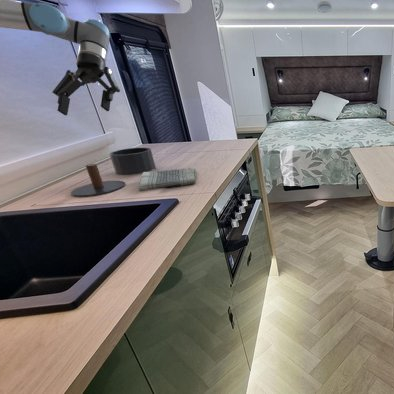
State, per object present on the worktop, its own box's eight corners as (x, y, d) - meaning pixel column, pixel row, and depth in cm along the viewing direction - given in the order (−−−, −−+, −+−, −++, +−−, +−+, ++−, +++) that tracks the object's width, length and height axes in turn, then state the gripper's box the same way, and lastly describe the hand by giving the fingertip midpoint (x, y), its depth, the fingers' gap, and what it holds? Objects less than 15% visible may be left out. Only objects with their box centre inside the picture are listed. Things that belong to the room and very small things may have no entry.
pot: (108, 176, 114) (101, 155, 111) (128, 167, 127) (122, 148, 123) (145, 175, 116) (139, 154, 113) (161, 165, 128) (156, 146, 125)
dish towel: (197, 184, 105) (195, 176, 104) (138, 193, 97) (135, 184, 96) (196, 171, 120) (194, 163, 119) (145, 177, 113) (143, 169, 111)
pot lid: (60, 199, 93) (48, 172, 89) (91, 184, 106) (82, 160, 102) (109, 197, 94) (100, 170, 91) (134, 182, 108) (127, 158, 104)
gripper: (135, 64, 107) (130, 113, 101) (64, 70, 106) (55, 120, 100) (120, 48, 100) (114, 100, 94) (44, 54, 99) (32, 107, 92)
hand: (83, 110), depth 97 cm, fingers open, 13 cm apart
